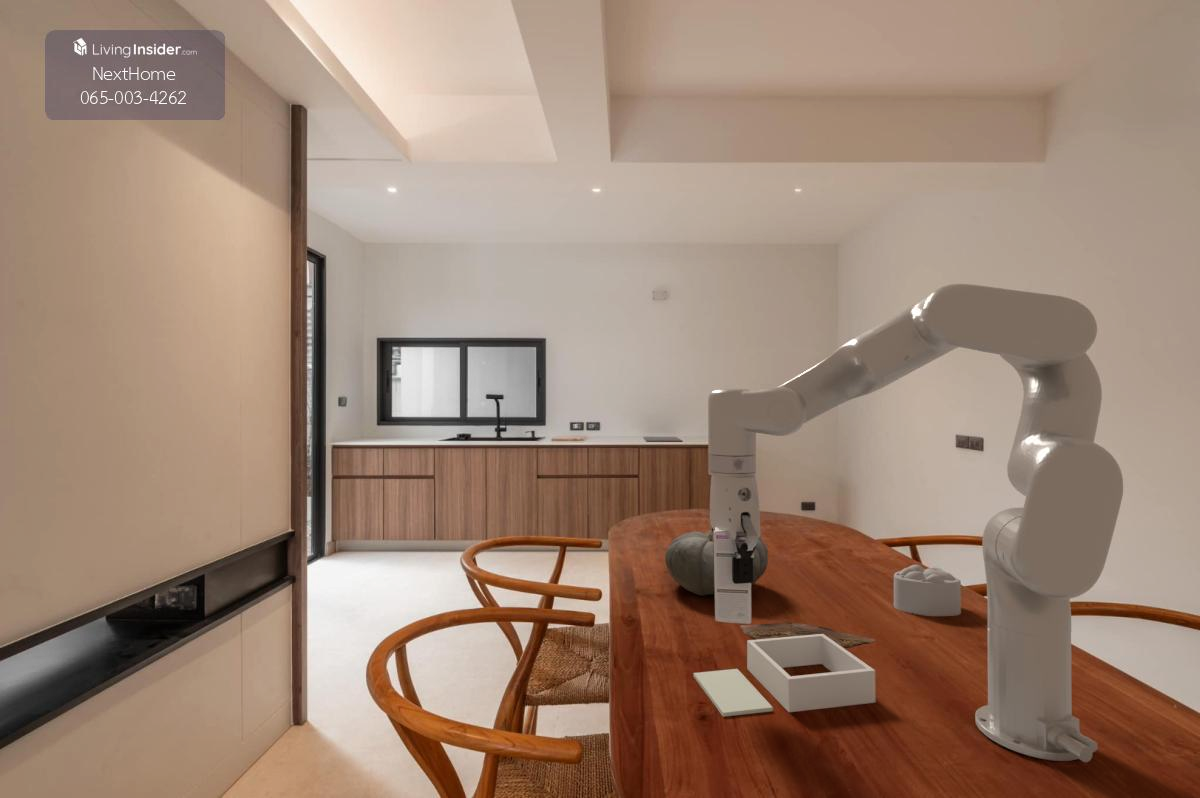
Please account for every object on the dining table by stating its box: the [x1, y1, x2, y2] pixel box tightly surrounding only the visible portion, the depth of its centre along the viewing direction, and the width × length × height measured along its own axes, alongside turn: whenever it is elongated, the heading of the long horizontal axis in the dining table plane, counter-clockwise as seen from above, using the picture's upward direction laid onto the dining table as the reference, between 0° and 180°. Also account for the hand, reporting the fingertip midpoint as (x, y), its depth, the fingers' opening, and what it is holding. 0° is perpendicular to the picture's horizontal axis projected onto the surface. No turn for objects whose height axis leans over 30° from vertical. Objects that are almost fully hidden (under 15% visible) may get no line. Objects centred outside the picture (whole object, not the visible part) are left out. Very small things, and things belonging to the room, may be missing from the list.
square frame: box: [746, 634, 876, 713], centre depth 98 cm, size 15×15×5 cm
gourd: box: [664, 529, 769, 596], centre depth 147 cm, size 25×25×17 cm
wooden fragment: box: [739, 621, 877, 649], centre depth 118 cm, size 26×11×1 cm, turn 73°
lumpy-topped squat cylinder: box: [893, 564, 962, 617], centre depth 133 cm, size 10×13×9 cm
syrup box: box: [714, 527, 752, 625], centre depth 95 cm, size 6×6×14 cm
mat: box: [692, 668, 774, 718], centre depth 95 cm, size 13×8×1 cm, turn 11°
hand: (732, 574), depth 95 cm, fingers closed on syrup box, 7 cm apart
